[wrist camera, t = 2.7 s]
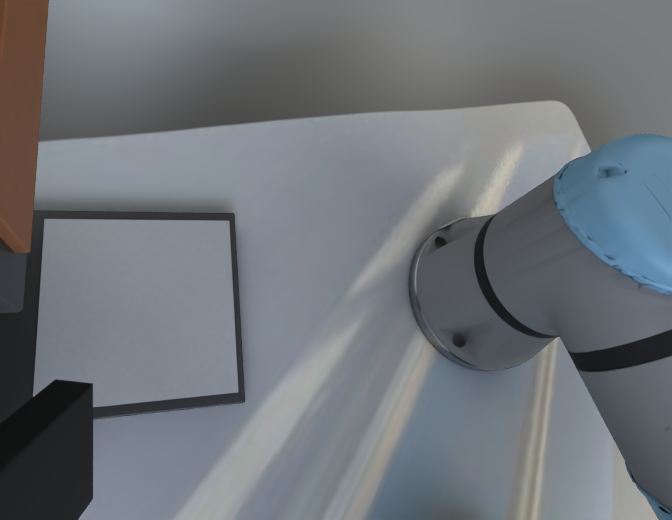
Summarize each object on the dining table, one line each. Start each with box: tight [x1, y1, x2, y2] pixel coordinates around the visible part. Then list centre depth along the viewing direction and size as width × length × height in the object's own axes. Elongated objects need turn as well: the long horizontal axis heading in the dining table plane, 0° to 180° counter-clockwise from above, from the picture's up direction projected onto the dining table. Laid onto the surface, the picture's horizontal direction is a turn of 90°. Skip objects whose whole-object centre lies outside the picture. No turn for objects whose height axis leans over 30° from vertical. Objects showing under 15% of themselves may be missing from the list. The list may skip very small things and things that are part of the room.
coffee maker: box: [0, 0, 245, 423], centre depth 22 cm, size 22×16×34 cm
